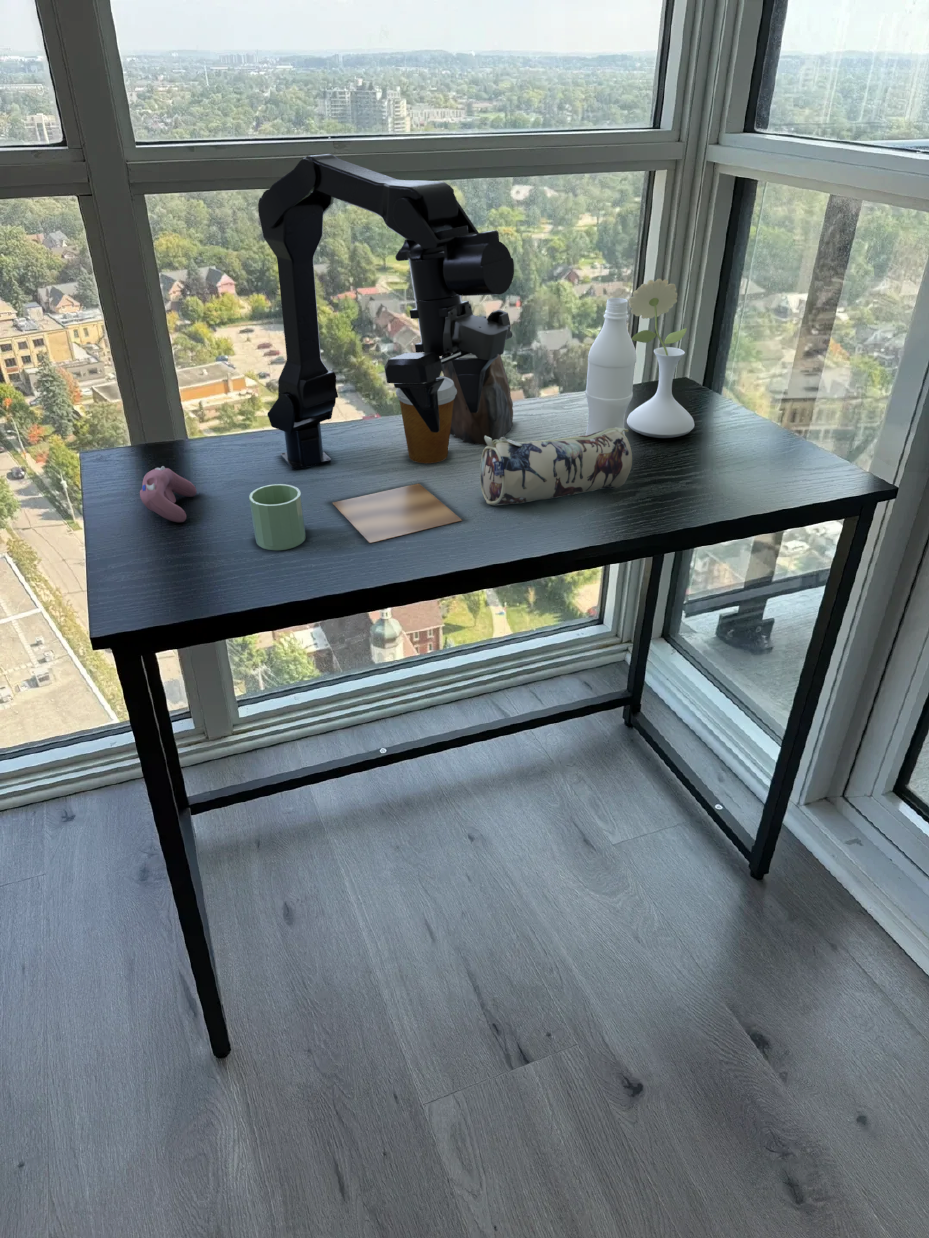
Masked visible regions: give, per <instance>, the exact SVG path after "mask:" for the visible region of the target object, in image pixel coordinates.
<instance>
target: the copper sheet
mask: <svg viewBox="0 0 929 1238" xmlns="http://www.w3.org/2000/svg"><path fill="white" fill-rule="evenodd" d="M331 504H332V505H333V506H334V507H335V508H336V509H337V510H338V511H339V512H340V514H342V516H343V517H345V518H346V520H347V521H348V522H349V523H350V524H351V525H352V526H353V528H354V529H356V530H357V532H358V533H359V534H360V535H361V536H362V537H363V538H364V539H365V540H366V541H367V543H369V544H374V543H378V542H381V541H386V540H389V539H390V540H391V539H394V538H399V537H402V536H406V535H410V534H414V533H419V532H422V531H426V530H427V531H428V530H430V529H434V528H438V527H443V526H447V525H451V524H454V523H458V522H463V519H462V518H460V516H458V515H457V514H456V513H454V511H452V510H451V509H450V508H449V507H448V506H447V505H445V504H444V503H443V502H442V501H441V500H439V499H438V498H437V497H436V496H435V495H433V494H432V493H431V492H430V491H429V490H427V489H426V488H425V487H424V486H423V485H421V483H420V482H419V483H414V484H410V485H405V486H401V487H397V488H391V489H386V490H382V491H378V492H374V493H370V494H365V495H360V496H356V497H350V498H347V499H342V500H337V501H333V502H331Z"/></svg>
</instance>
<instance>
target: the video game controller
mask: <svg viewBox="0 0 929 1238" xmlns="http://www.w3.org/2000/svg"><path fill="white" fill-rule="evenodd" d="M141 485H142V486H141V489H140V490H139V498H140V500H141V502H142V504H143V505H144V506H145V508H147V510H149V511H151V512H154V513H155V514H157V515H159V516H160V517H162V518H164V519H165V520H168V521H171V522H174V523H184V522H185V521H187V514H186V511H185V510H184V509H183V508H182V507H181V506H179V505H178V504H176V502H177V498H176V496H175V494H176V495H179V496H183V497H190V498H192V497H195V496H196V495H197V492H198V490H197V488H196V486H195V484H193V483H192V482H191V481H190V480H189V479H186V478H185V477H183V476H181V475H179V474H177V473H176V472H175V471H173V470H172V469H170V468H169V467H165V466H164V465H162V466H161V467H155V468H154V469H152V470H149V471H148V472H146V474H145V475H144V477H143V479H142V484H141ZM174 493H175V494H174Z"/></svg>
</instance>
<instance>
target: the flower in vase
mask: <svg viewBox="0 0 929 1238" xmlns="http://www.w3.org/2000/svg"><path fill="white" fill-rule="evenodd" d="M632 295H633V296H631V297H629V298H628V304H629V306H628V307H629V308H630V314H632V315H634V316H635V317H640V316H641V318H642V319H649V320H651V319H654V327H655V332H654V331H652V330H649V329H643V330H640V331H638V332H637V333H635V334H634V335H633V336H632V337H631V339H632V342H639V343H643V344H646V343H650V342H651V341H653V340H654V339H655V338H656V337H657V339H658V340H659V342H660V344H661V347H657V348H654V349H653V353H654V355H655V357H656V360H657V363H658V383H657V389H656V392H655V394H654V395H653V396H652V397H651V398H649V399H648V400H646V401H645V402H643V403H642V404H640V405H639V406H638V407H636V408H634V409H633V410H632V411H631V412H630V413H629V414H628V416H627V419H626V423H627V426H628V428H630V429H631V430H632V432H633V431H634V432H635V433H637V434H640V435H642V436H645V437H650V438H656V439H672V438H673V439H674V438H678V437H682V436H685V435H688V434H689V433H690V432H691V431H692V430H693V429H694V428H695V421H694V418H693V416H692V415H691V414H690V413H689V411H688V410H686V409H685V408H684V407H683V405H681V404H680V403H679V402H678V401H677V400H676V399H675V397H674V395H673V392H672V390H673V381H674V375H675V372H676V369H677V365H678V363H679V361H681V358H682V357H683V356H684V355H685V354H686V351H685V350H683V349H681V348H678V347H674V346H673V347H672V346H666V345H670V344H675V343H678V342H679V341H681V340H682V339H683V338H684V337H685V335H686V333H687V331H688V330H687V329H688V327H685V328H683V329H680V330H677V331H674V332H671V333H669V334H667V336H666V338H665V340H664V341H663V339H662V337H661V336H660V333H659V330H658V317H660V316H662V315H663V314H668V313H669V312H670V309H672V308H673V307H674V305H675V304H677V302H678V292H677V287H676V284H675V283H669V280H668V279H666V278H665V279H662V278H657V279H656V280H653V279H649V280H648V281H647V282H646V283H642V284H640V286H639V287H638V288H637V289H636V290H634V291H632Z"/></svg>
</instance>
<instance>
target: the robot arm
mask: <svg viewBox="0 0 929 1238" xmlns="http://www.w3.org/2000/svg"><path fill="white" fill-rule="evenodd" d="M335 199H336V200H338V201H341V202H344V203H346V204H349V205H351V206H354V207H357V208H359V209H362V210H364V211H368V212H370V213H372V214H375V215H377V216H379V217H380V218H381V219H382V220H383V222H384V225H385V226H386V227H387V228H388V229H389V230H391V231H392V232H394V233H396V234H397V235H399V236H400V237H401V238H403V239H404V242H403V245H402V246H401V248H400V249H399V250H398V251H397V253H396V254H395V258H394V259H395V260H396V261H397V262H403V261H404V262H405V261H408V265H409V270H410V276H411V283H412V289H413V297H414V302H415V303H414V304H415V308H413V309H412V308H411V309H409V310H408V311H409V317H410V320H411V319H413V320H414V319H415V320H416V319H417V323H418V330H419V336H420V337H419V338H420V342H417V343H415V344H414V349H415V352H404V353H402V354H398V355H395V356H394V357H390V358H388V360H387V361H386V363H385V365H384V367H383V368H384V375H385V380H386V383H387V384H393V387H394V388H395V389H398V388H400V389H401V391H402V392H403V393H404V394H405V396H406V397H407V398H408V399H409V401H410V402H411V403H412V404H413V406H414V407H415V409H416V410H417V412H418V413H419V415H420V416H421V417H422V419H423V420H424V422H425V423H426V425H427V426H428V428H429V429H430V431H431V432H434V433H437V432H439V430H440V420H439V407H438V394H437V392H438V389H439V388H440V386H441V384H442V383H443V381H444V378H438V377H440V376H441V373H442V365H443V364H445V363H448V362H450V361H452V364H453V367H454V370H455V373H456V375H457V378H458V381H459V384H460V387H461V390H462V393H463V396H464V399H465V401H466V404H467V406H468V408H469V411H470V412H471V413H477V412H478V409H479V404H480V398H481V392H482V386H483V381H484V377H485V372H486V369H487V368H488V367H489V365H490V364H491V363H492V362H493V361H494V360H495V359H497V357H498V354H499V355H503V354H504V352H505V347H506V342H507V340H509V339H511V338H512V337H513V332H512V331H511V329H512V324H511V321H510V315H509V313H508V312H507V311H504V310H501V309H497V310H494V311H491V313H490V314H489V315H488V317H487V316H486V315H482V316H478V315H474V313H473V310H472V304H471V303H470V301H469V300H462V297H472V296H473V297H474V296H499V295H503V294H504V293H506V292H507V291H508V290H509V289H510V287H511V285H512V283H513V279H514V275H515V263H514V262H515V261H514V259H513V257H512V256H511V252H510V249H508V247H507V246H506V245H505V243H503V242H502V241H500V235H499V231H498V230H496V229H494V230H488V231H484V232H479V230H478V229H477V228H476V226H475V225H474V223H473V222H472V220H471V219H470V217H469V216H468V213H466V211H465V210H464V208H463V207H462V205H461V204H460V203H459V201H458V200H457V197H456V195H455V190H454V188H453V187H452V186H451V185H450V184H449V183H447V182H445V181H436V180H434V181H433V180H425V179H423V180H415V179H413V180H407V179H405V180H404V179H398V178H397V179H396V178H394V177H391V176H388V175H385V174H383V173H381V172H377V171H374V170H371V169H369V168H366V167H363V166H361V165H357V164H354V163H351V162H349V161H346V160H343V159H340V158H339V157H338V156H337V155H334V154H332V153H324V154H315V155H314V154H313V155H306V156H305V157H303V158H302V159H301V160H299V162H298V163H297V164H296V165H295V167H294V168H293V169H291V171H289V172H288V173H286V174H285V175H284V176H282V177H281V178H280V179H278V180H277V181H275V182H274V183H273V184H272V185H271V186H270V188H268V189H266V190H264V191H263V193H262V195H261V197H259V198H258V202H257V203H258V204H257V212H258V217H259V222H260V227H261V233H262V236H263V239H264V241H265V242H266V244H267V245H268V247H269V248H270V250H271V251H272V253H273V254H274V255H275V257H276V262H277V273H278V283H279V292H280V293H279V295H280V302H281V312H282V313H281V314H282V324H283V334H284V343H285V344H284V345H285V354H286V356H285V357H286V361H285V363H284V366H283V368H282V370H281V372H280V374H279V377H278V384H277V385H278V386H277V387H278V389H277V399H276V400H275V402H274V403H273V404H272V406H271V408H270V409H269V410H268V412H267V417H268V421H269V423H270V426H271V427H272V428H274V429H276V430H279V431H281V432H282V431H283V432H284V440H285V449H286V451H285V452H281V453H280V455H279V456H280V458H281V459H282V460H283V461H284V462H285V463H286V464H287V465H288V466H289V467H290V469H292V470H294V471H295V470H300V469H305V468H311V467H314V466H320V465H324V464H325V465H326V464H329V463H331V462H332V458H331V457H330V456H328V455H327V453H325V451H324V448H323V438H322V428H321V422H322V423H323V422H325V421H328V420H332V417H333V413H334V408H335V406H336V404H337V403H336V401H337V398H339V394H338V390H337V375H336V373H335V372H334V371H330V370H329V369H328V368H327V366H326V364H325V363H324V362H323V360H322V357H321V345H320V331H319V320H318V319H319V318H318V306H317V292H316V279H315V264H314V256H315V255H316V252H317V249H318V246H319V244H320V242H321V240H322V238H323V231H324V230H323V229H324V215H325V214H326V213H327V211H328V210H329V209H331V207H332V206H333V205H334V203H335ZM451 352H452V353H451Z"/></svg>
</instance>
